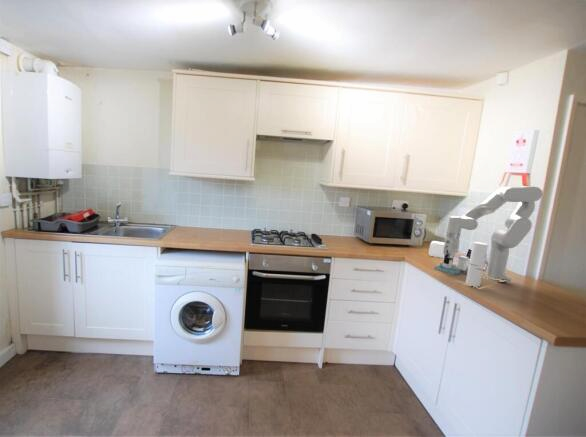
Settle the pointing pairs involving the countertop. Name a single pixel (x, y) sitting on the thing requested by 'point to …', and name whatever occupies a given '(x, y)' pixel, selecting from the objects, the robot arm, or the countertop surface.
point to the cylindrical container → (476, 263)
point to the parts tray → (447, 270)
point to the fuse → (462, 262)
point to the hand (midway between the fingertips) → (447, 263)
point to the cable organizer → (436, 249)
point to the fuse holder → (458, 269)
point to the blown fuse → (449, 262)
